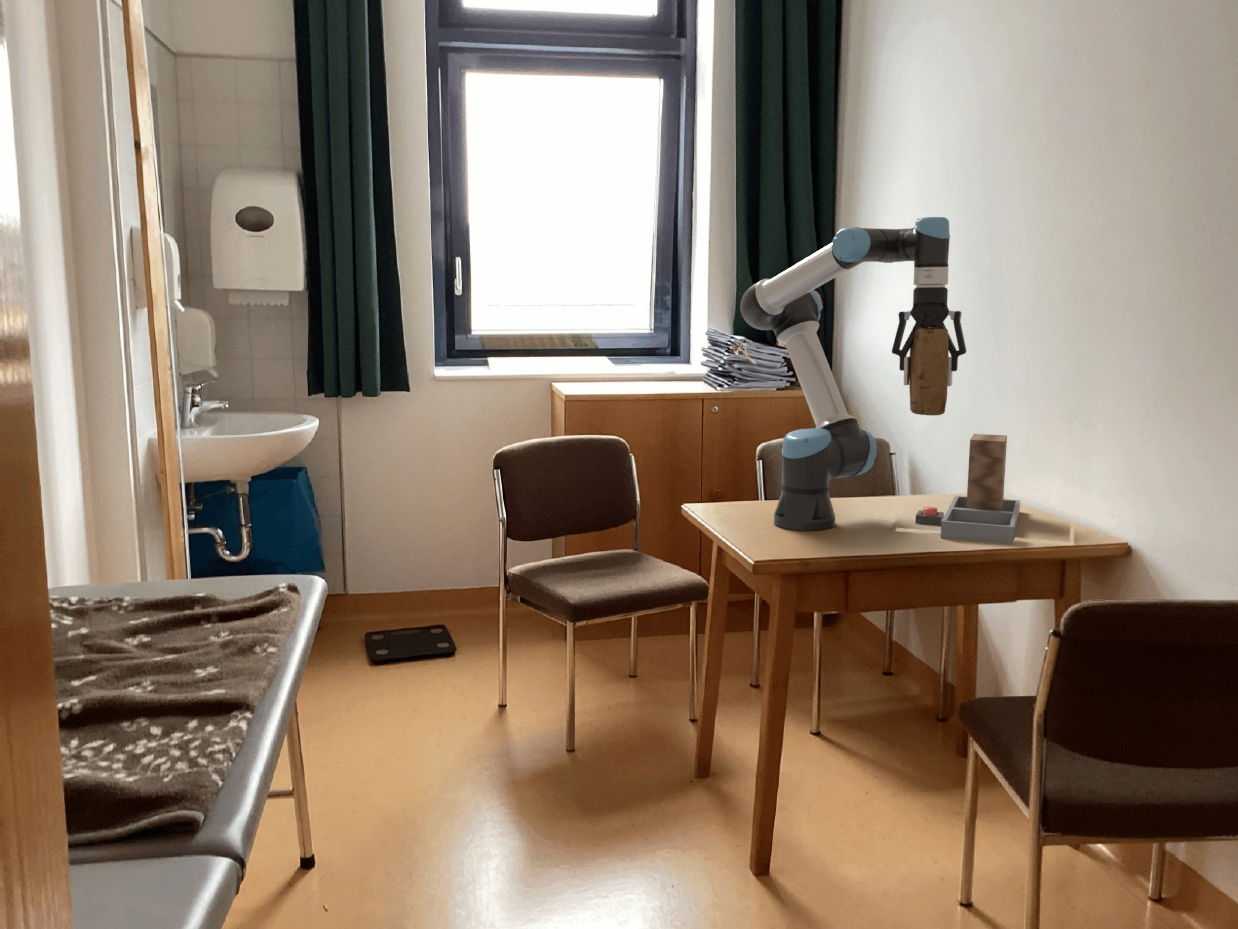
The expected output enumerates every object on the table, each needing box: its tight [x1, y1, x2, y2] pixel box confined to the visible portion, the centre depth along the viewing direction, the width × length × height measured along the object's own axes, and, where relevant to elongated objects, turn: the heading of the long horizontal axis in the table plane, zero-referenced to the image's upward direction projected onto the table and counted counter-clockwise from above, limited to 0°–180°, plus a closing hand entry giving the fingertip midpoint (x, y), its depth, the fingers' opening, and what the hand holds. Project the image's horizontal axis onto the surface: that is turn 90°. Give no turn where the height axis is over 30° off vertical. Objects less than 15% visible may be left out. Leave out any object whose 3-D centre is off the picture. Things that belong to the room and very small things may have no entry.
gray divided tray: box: [940, 495, 1021, 545], centre depth 258 cm, size 16×32×4 cm, turn 157°
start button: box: [922, 506, 938, 516], centre depth 259 cm, size 3×3×4 cm
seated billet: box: [966, 433, 1008, 511], centre depth 264 cm, size 8×11×20 cm
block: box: [908, 327, 950, 416], centre depth 242 cm, size 11×8×20 cm
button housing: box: [915, 509, 945, 526], centre depth 259 cm, size 6×6×3 cm
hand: (927, 385), depth 242 cm, fingers closed on block, 9 cm apart
